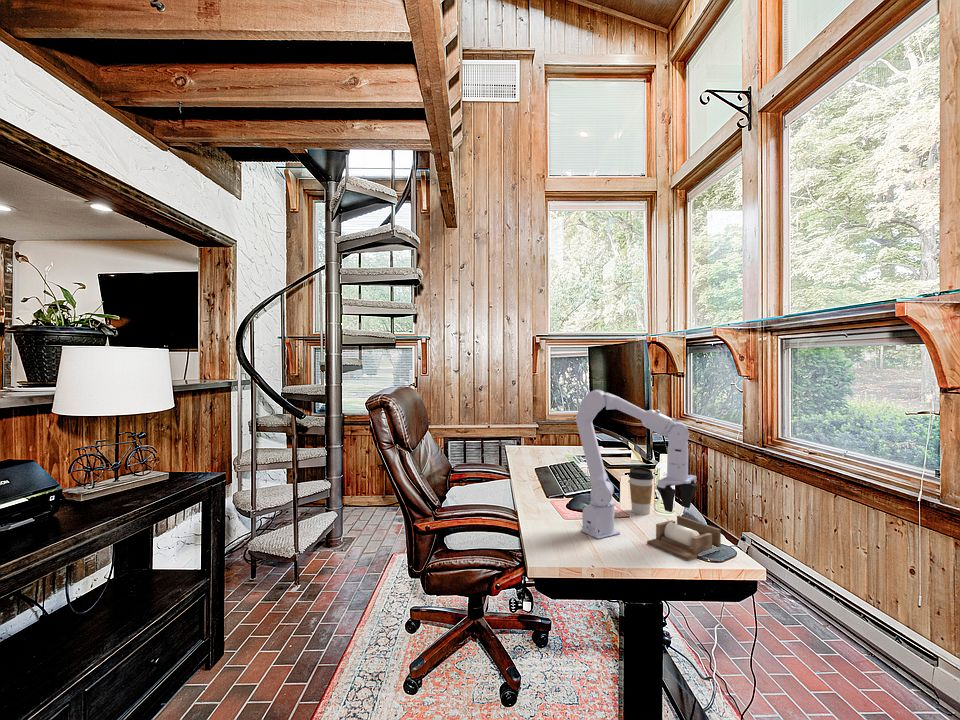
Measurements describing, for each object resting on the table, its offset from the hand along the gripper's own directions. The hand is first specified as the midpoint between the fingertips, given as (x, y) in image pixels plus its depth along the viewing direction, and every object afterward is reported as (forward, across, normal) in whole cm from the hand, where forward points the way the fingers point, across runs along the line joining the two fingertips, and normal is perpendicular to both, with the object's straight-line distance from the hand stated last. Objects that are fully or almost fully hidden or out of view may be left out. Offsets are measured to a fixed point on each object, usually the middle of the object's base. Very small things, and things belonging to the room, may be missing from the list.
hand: (677, 509), depth 140 cm
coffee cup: (+10, +12, +25) cm, 29 cm away
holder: (+10, -2, -4) cm, 10 cm away
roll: (+6, -2, -3) cm, 7 cm away
